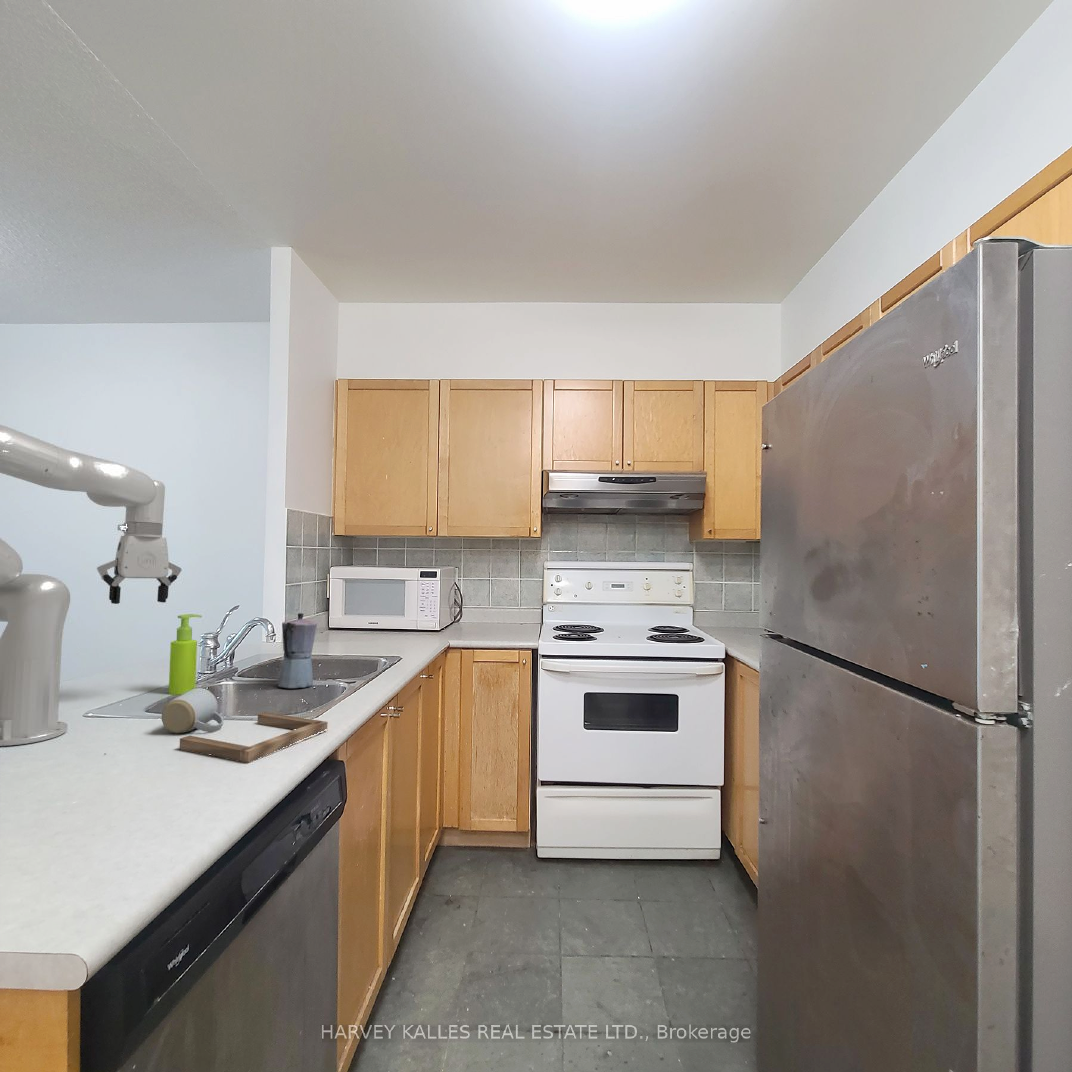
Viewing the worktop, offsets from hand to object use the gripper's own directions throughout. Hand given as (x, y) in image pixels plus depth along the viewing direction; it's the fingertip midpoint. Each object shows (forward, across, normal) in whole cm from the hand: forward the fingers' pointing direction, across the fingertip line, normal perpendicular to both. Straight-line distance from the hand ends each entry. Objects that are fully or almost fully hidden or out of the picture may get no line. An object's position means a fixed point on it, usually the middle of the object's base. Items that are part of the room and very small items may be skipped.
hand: (139, 602), depth 137 cm
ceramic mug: (+25, +2, -29) cm, 38 cm away
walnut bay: (+25, +6, -45) cm, 52 cm away
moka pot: (+24, +36, -10) cm, 44 cm away
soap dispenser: (+24, +14, +6) cm, 28 cm away
